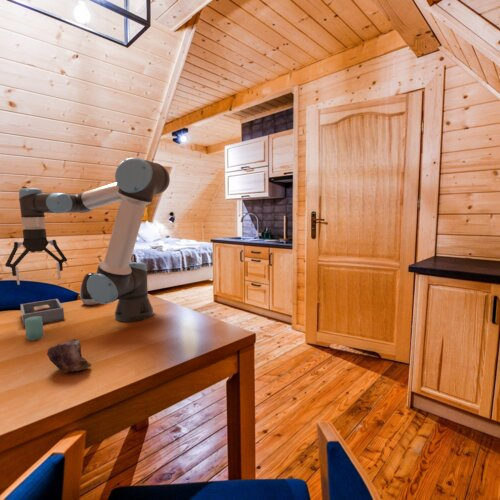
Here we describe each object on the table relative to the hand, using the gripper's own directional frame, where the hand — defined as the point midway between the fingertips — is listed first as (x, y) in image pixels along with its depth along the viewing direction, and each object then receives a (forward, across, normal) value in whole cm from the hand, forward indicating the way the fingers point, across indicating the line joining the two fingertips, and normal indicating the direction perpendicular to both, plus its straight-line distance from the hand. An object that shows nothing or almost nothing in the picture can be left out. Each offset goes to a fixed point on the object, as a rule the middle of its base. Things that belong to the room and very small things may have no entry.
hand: (39, 281), depth 125 cm
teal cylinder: (+16, +4, +18) cm, 25 cm away
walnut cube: (+16, 0, -1) cm, 16 cm away
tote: (+16, 0, -5) cm, 17 cm away
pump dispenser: (+17, -21, -14) cm, 30 cm away
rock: (+17, -3, +51) cm, 54 cm away
